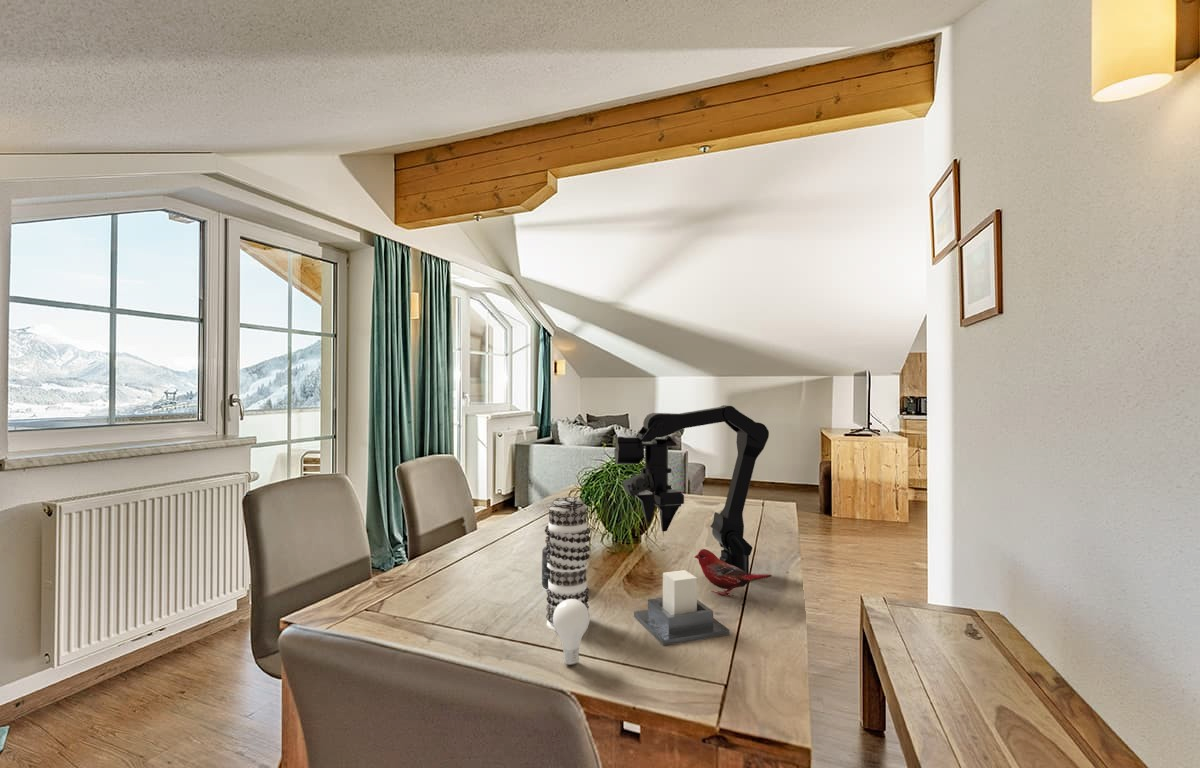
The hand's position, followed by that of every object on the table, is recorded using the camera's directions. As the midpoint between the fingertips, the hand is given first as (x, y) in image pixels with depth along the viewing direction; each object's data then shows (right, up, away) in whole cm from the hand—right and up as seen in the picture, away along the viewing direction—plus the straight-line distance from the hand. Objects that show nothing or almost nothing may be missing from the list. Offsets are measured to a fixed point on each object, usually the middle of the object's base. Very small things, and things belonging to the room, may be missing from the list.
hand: (656, 526), depth 139 cm
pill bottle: (-25, -13, -5) cm, 29 cm away
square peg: (+2, -12, -27) cm, 29 cm away
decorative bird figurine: (+16, -13, -11) cm, 24 cm away
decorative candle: (-20, -13, -26) cm, 36 cm away
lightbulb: (-19, -13, -43) cm, 48 cm away
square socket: (+2, -13, -27) cm, 30 cm away
